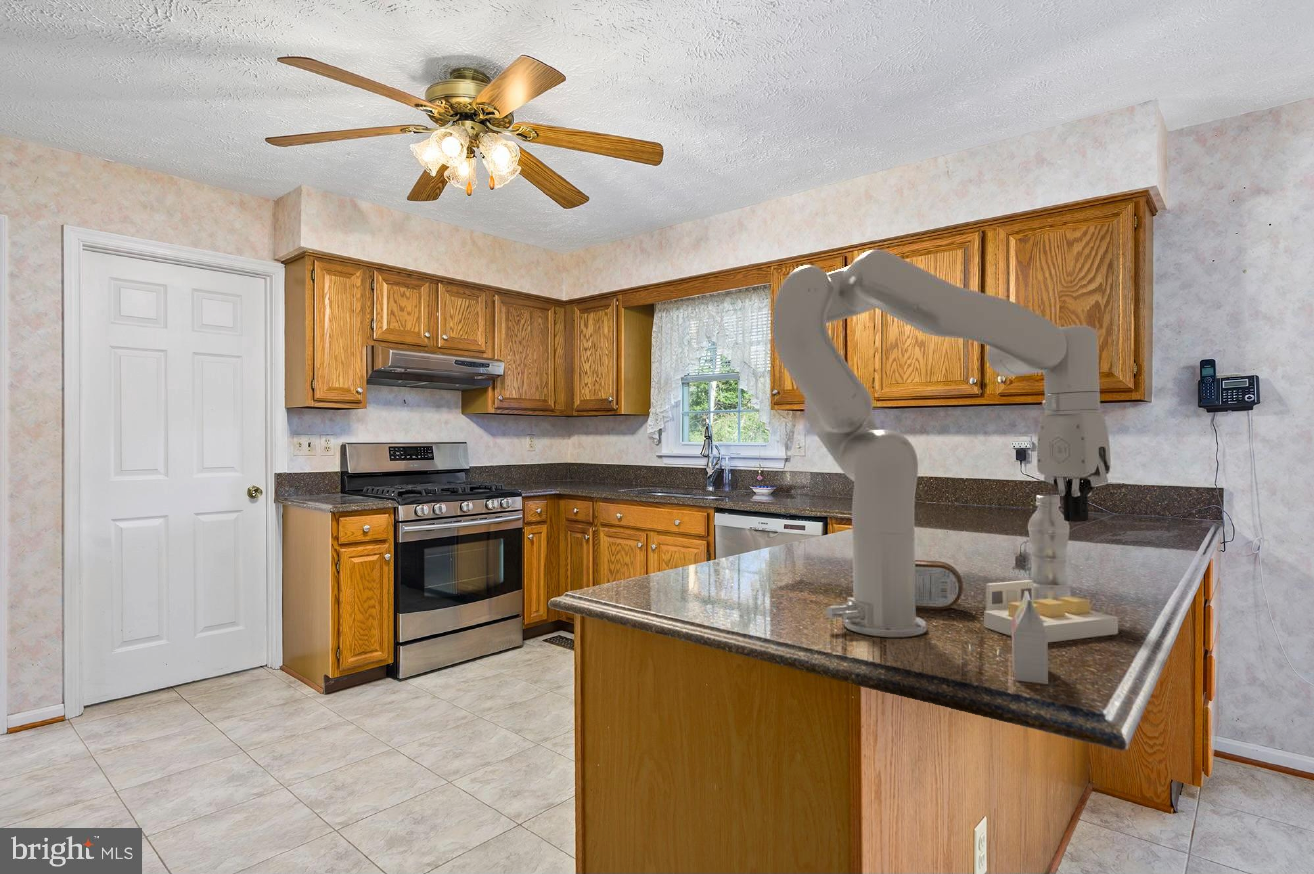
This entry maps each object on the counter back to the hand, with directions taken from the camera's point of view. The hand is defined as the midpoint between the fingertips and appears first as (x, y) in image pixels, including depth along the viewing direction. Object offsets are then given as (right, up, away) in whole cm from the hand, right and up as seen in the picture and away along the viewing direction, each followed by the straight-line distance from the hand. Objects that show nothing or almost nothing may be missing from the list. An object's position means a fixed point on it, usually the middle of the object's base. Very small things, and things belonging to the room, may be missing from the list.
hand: (1076, 520), depth 112 cm
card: (-7, -17, +6) cm, 20 cm away
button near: (-10, -16, -3) cm, 19 cm away
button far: (0, -16, 0) cm, 16 cm away
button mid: (-5, -16, -2) cm, 17 cm away
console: (-5, -17, -2) cm, 18 cm away
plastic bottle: (+2, -17, +11) cm, 21 cm away
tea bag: (-19, -17, -22) cm, 33 cm away
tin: (-20, -18, +15) cm, 30 cm away
